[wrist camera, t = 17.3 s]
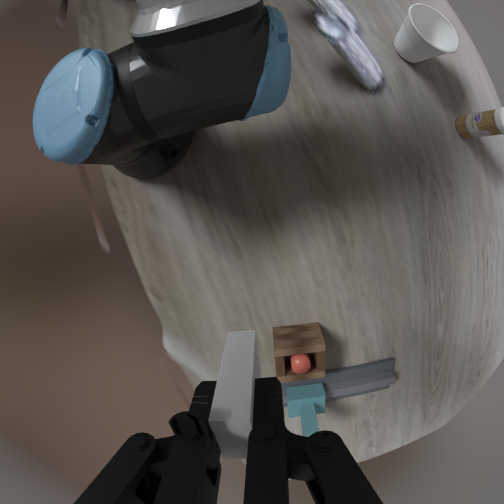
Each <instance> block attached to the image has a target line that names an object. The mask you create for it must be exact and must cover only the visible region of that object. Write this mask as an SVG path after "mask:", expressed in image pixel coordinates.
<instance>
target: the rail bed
mask: <svg viewBox="0 0 504 504" xmlns="http://www.w3.org/2000/svg"><path fill="white" fill-rule="evenodd" d="M393 365H394V359H393V357H392V358H388V359H384V360H380V361H375V362H370V363H366V364H361V365H356V366H350V367H345V368H339V369H333V370H327V371H325V377H322V378H316V379H308V380H301V381H292V382H283V383H281V385H282V396H283V407H284V406H288V404H287V403H288V402H287V390H286V387H294V386H302V385H310V384H317V383H322V384H323V388H324V392H325V396H326V397H325V401H330V400H335V399H341V398H346V397H351V396H356V395H361V394H366V393H370V392H374V391H378V390H382V389H386V388H389V385H391V384H394V382H395V378H396V376H395V375H394V373H393V371H392V370H393Z"/></svg>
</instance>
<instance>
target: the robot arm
mask: <svg viewBox="0 0 504 504" xmlns="http://www.w3.org/2000/svg"><path fill="white" fill-rule="evenodd" d="M136 2H137V4H138V6H139V12H138V15H137V17H136V19H135V21H134V23H133V25H132V27H131V29H130V33H131V36H132V38H133V40H134V43H131V44H129V45H127V46H124V47H122V48H120V49H118V50H115V51H113V52H111V53H109V54H106V53H104V52H103V51H102V50H99V49H90V48H83V49H79V50H77V51H74V52H72V53H70V54H68V55H67V56H65V57H64V58H63V59H62V60H61V61H60V62H58V63H57V64H56V66H55V67H54V68H53V69H52V70H51V72H50V73H49V74H48V76H47V78H46V80H45V81H44V83H43V85H42V88H41V90H40V92H39V94H38V97H37V100H36V103H35V107H34V114H33V132H34V137H35V140H36V143H37V146H38V147H39V149H40V151H41V152H42V153H44V155H46V156H47V158H49V159H50V160H53V161H56V162H62V163H66V164H69V165H74V164H103V165H113V166H114V167H115V168H116V169H117V170H118V171H120V172H121V173H123V174H125V175H128V176H130V177H135V178H151V177H156V176H159V175H162V174H164V173H166V172H168V171H169V170H171V169H172V168H173V167H175V166H176V165H177V164H178V163H179V162H180V160H181V159H182V158H183V157H184V155H185V154H186V152H187V150H188V148H189V146H190V143H191V140H192V135H193V131H195V130H198V129H202V128H206V127H210V126H214V125H218V124H222V123H226V122H231V121H235V120H239V121H244V120H246V119H248V118H249V117H252V116H256V115H261V114H265V113H269V112H272V111H274V110H276V109H277V108H278V107H280V106H281V105H282V104H283V102H284V101H285V98H286V96H287V93H288V89H289V84H290V74H291V52H290V45H289V43H288V41H287V40H288V31H287V26H286V22H285V20H284V17H283V15H282V13H281V12H280V11H279V10H278V9H277V8H275V7H270V6H268V5H266V6H264V5H263V0H136ZM260 377H261V367H260V360H259V353H258V346H257V339H256V332H255V330H249V331H236V332H228V335H227V339H226V344H225V348H224V353H223V357H222V362H221V366H220V371H219V375H218V380H217V381H202V382H201V383H200V384H199V385H198V386H197V387H196V389H195V393H194V397H193V399H192V403H191V406H190V409H189V411H187V412H186V411H185V412H180V413H178V414H176V415H174V416H173V417H172V418H171V419H170V421H169V424H170V426H171V428H172V430H173V432H174V434H175V435H173V436H171V437H166V438H159V439H155V438H154V437H153V436H152V435H150V434H148V433H137V434H134V435H132V436H131V437H130V438H128V440H127V441H126V442H125V443H124V444H123V446H122V447H121V448H120V449H119V450H118V452H117V453H116V454H115V455H114V456H113V458H112V459H111V460H110V461H109V462H108V464H107V465H106V466H105V467H104V468H103V470H102V471H101V472H100V473H99V474H98V476H97V477H96V478H95V479H94V480H93V482H92V483H91V484H90V485H89V486H88V488H87V489H86V490H85V491H84V492H83V493H82V494H81V496H80V497H79V498H78V499H77V500H76V501H75V503H74V504H217V497H218V490H219V483H220V476H221V464H220V461H219V460H220V453H221V455H222V457H223V458H247V464H246V479H245V491H244V504H289V488H288V478H290V479H296V480H303V481H305V482H306V484H307V486H308V489H309V491H310V493H311V495H312V498H313V500H314V502H315V504H383V503H382V501H381V500H380V498H379V497H378V495H377V494H376V492H375V490H374V489H373V487H372V486H371V484H370V483H369V481H368V480H367V478H366V477H365V475H364V474H363V472H362V470H361V469H360V467H359V466H358V464H357V463H356V461H355V460H354V458H353V456H352V455H351V453H350V452H349V450H348V448H347V447H346V445H345V444H344V442H343V441H342V439H341V437H340V436H339V435H338V434H336V433H334V432H332V431H324V430H323V431H318V432H315V433H313V434H311V435H310V436H309V437H307V436H300V435H296V434H293V433H291V432H290V431H289V430H287V428H286V427H285V422H284V408H283V396H282V385H281V382H280V381H279V380H278V378H277V377H269V378H260Z"/></svg>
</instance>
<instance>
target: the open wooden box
mask: <svg viewBox="0 0 504 504" xmlns="http://www.w3.org/2000/svg"><path fill="white" fill-rule="evenodd" d="M273 342H274V355H275V365H276V374H277V378H278V380H279V381H280V382H281V383H283V382H292V381H301V380H308V379H316V378H322V377H325V363H326V343H325V340H324V337H323V335H322V332H321V329H320V326H319V324H318V322H316V323H308V324H300V325H292V326H283V327H274V328H273ZM306 353H308V356H309V360H310V364H311V367H310V369H309V371H307V372H306V373H303V374H297V373H295V372H293V370H292V366H291V359H290V355H299V354H306Z"/></svg>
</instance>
